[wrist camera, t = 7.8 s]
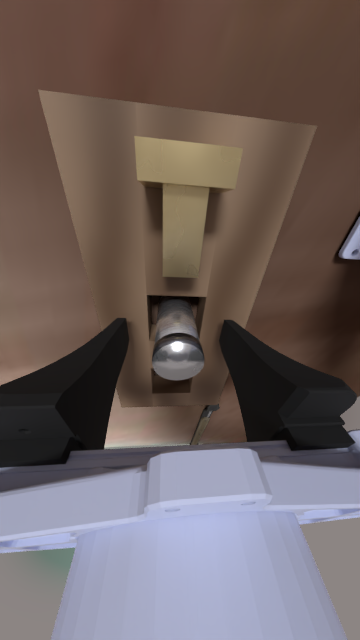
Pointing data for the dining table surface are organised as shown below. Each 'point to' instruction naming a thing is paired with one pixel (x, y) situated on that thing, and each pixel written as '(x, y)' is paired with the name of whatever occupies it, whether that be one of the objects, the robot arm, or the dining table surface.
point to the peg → (176, 340)
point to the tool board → (147, 226)
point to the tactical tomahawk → (203, 423)
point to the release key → (185, 193)
